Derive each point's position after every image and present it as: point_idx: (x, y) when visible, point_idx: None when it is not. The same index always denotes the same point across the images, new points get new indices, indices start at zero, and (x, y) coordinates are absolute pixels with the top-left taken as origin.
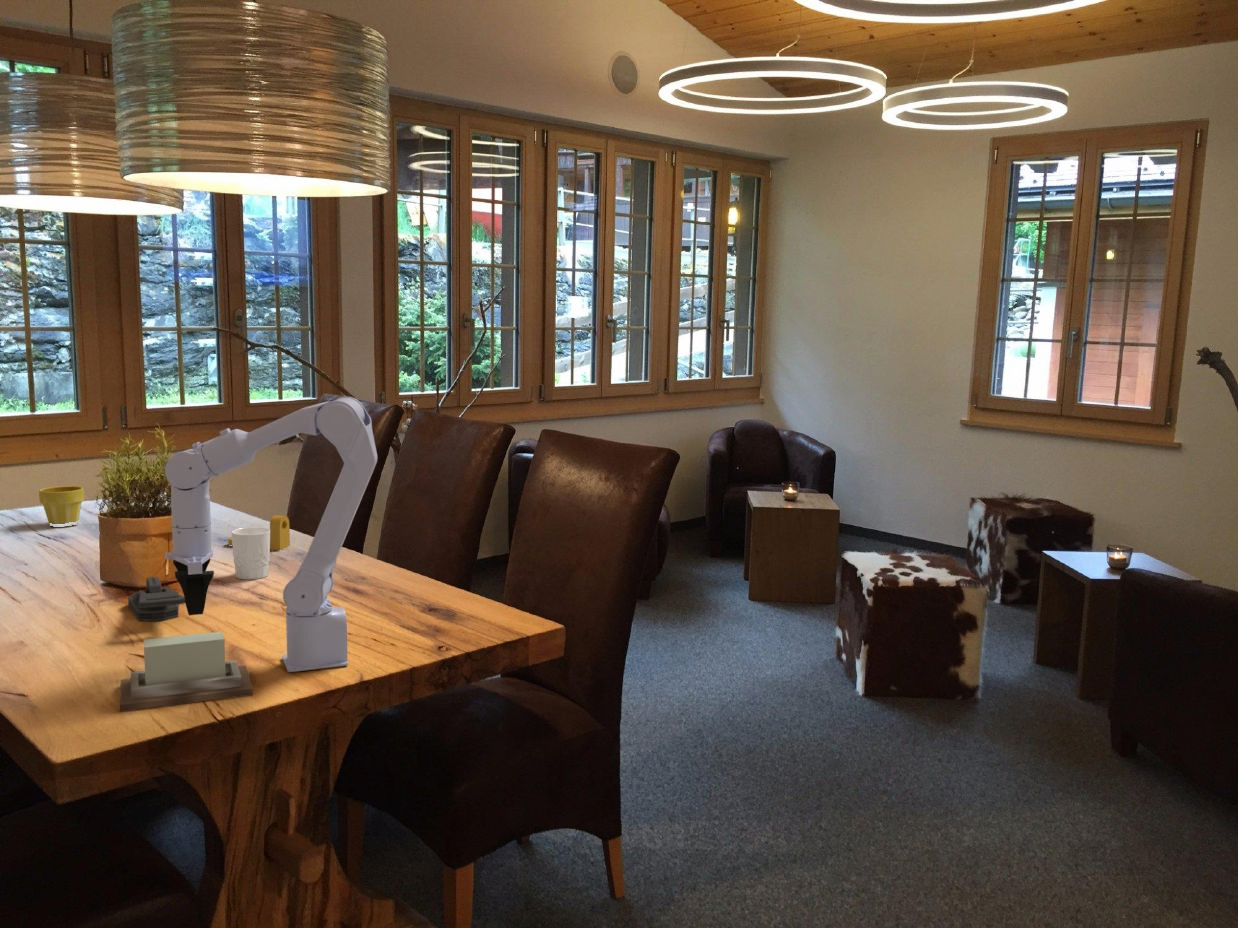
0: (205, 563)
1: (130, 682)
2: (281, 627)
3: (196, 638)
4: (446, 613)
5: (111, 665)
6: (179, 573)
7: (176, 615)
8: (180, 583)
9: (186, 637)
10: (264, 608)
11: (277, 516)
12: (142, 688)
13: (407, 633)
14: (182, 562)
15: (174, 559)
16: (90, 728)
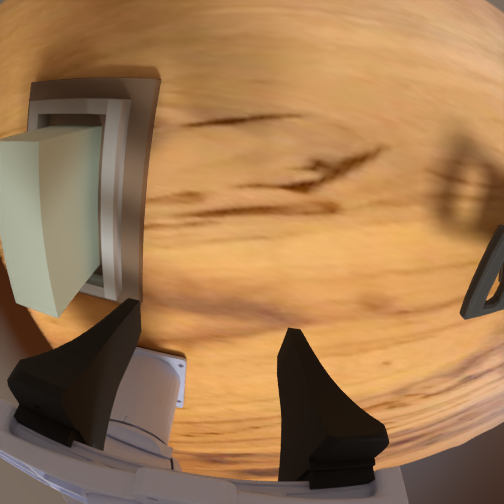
0: (281, 477)
1: (128, 97)
2: (344, 387)
3: (22, 260)
4: (266, 473)
5: (325, 87)
6: (25, 393)
7: (500, 280)
8: (36, 357)
9: (29, 244)
10: (436, 378)
11: None
12: (28, 121)
13: (220, 450)
14: (36, 450)
15: (126, 473)
16: (8, 50)
